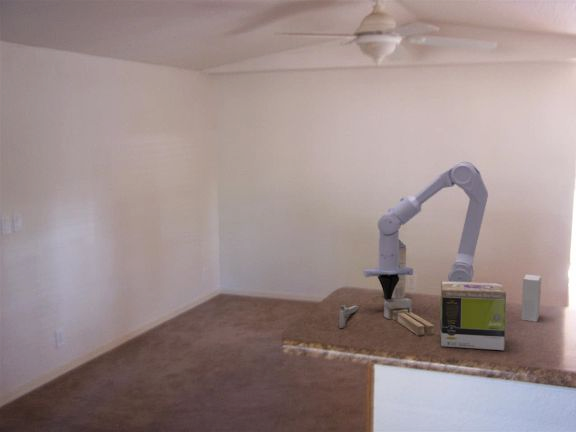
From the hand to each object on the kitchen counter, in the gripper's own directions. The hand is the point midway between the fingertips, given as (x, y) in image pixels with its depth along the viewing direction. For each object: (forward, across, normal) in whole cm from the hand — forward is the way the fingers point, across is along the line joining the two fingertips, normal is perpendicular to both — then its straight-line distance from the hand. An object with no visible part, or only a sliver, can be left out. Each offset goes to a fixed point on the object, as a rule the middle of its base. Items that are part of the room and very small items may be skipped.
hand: (387, 299), depth 178 cm
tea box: (+4, +12, -30) cm, 32 cm away
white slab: (+3, +1, -6) cm, 7 cm away
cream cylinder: (+4, +7, +14) cm, 16 cm away
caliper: (+4, -13, -5) cm, 14 cm away
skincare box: (+4, +37, -14) cm, 40 cm away
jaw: (+3, 0, -16) cm, 16 cm away
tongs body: (+3, +2, -14) cm, 14 cm away
